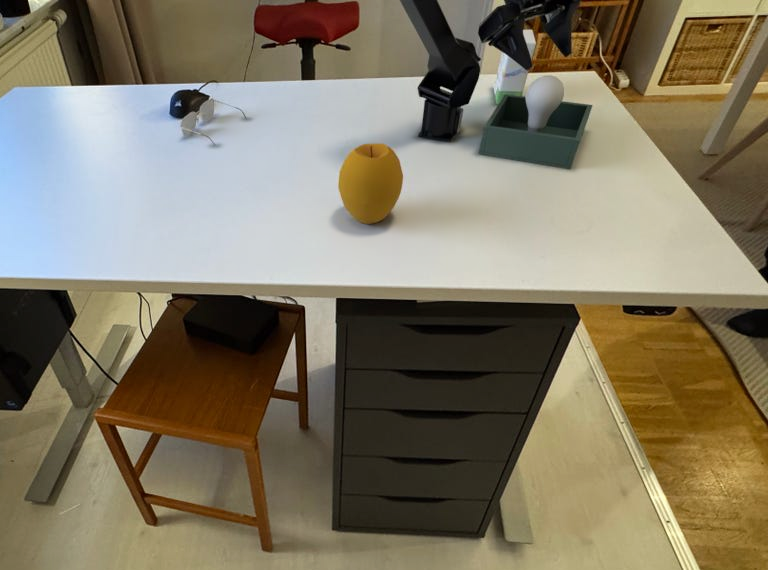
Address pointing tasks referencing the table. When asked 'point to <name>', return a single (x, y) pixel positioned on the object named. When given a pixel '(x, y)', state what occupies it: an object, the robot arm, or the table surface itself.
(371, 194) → the apple
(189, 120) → the eyeglasses
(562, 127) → the bin
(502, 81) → the ink box
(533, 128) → the lightbulb
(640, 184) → the table surface
